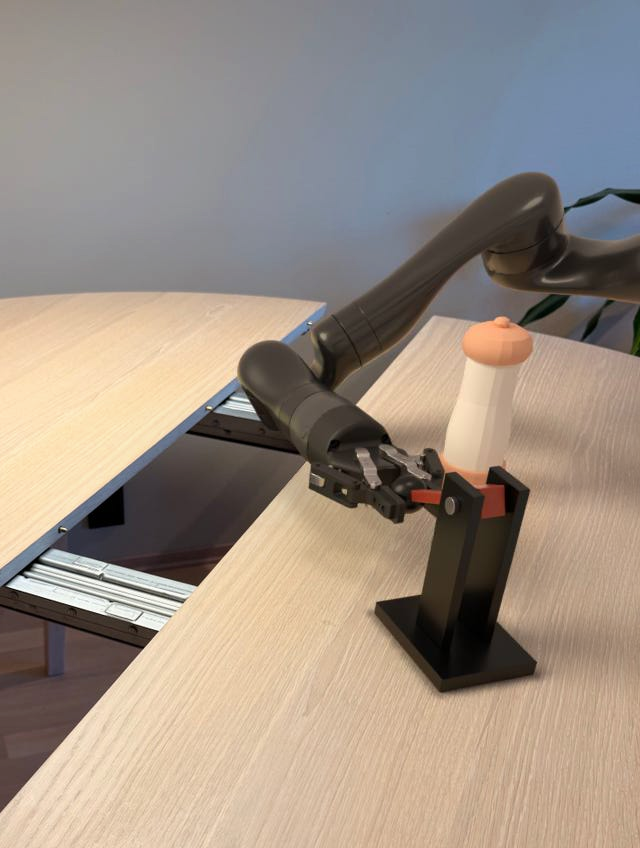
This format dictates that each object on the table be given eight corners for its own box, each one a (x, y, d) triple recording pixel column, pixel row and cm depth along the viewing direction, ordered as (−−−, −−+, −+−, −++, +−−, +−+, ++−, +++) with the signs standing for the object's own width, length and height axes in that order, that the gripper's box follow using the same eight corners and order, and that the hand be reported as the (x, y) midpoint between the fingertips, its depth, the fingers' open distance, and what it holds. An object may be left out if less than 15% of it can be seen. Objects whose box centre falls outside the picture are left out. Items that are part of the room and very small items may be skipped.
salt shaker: (512, 489, 110) (554, 318, 99) (476, 510, 106) (516, 334, 95) (457, 467, 115) (490, 301, 103) (420, 486, 111) (451, 316, 99)
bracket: (373, 613, 90) (400, 455, 81) (460, 598, 92) (496, 443, 83) (439, 692, 81) (477, 524, 72) (534, 674, 83) (583, 508, 74)
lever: (381, 515, 91) (379, 476, 91) (416, 510, 92) (414, 471, 91) (473, 528, 77) (471, 482, 76) (513, 521, 78) (512, 476, 77)
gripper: (394, 464, 105) (483, 538, 92) (271, 480, 102) (345, 559, 88) (404, 397, 101) (499, 463, 87) (277, 411, 97) (355, 482, 84)
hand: (421, 510), depth 88 cm, fingers closed on lever, 3 cm apart
